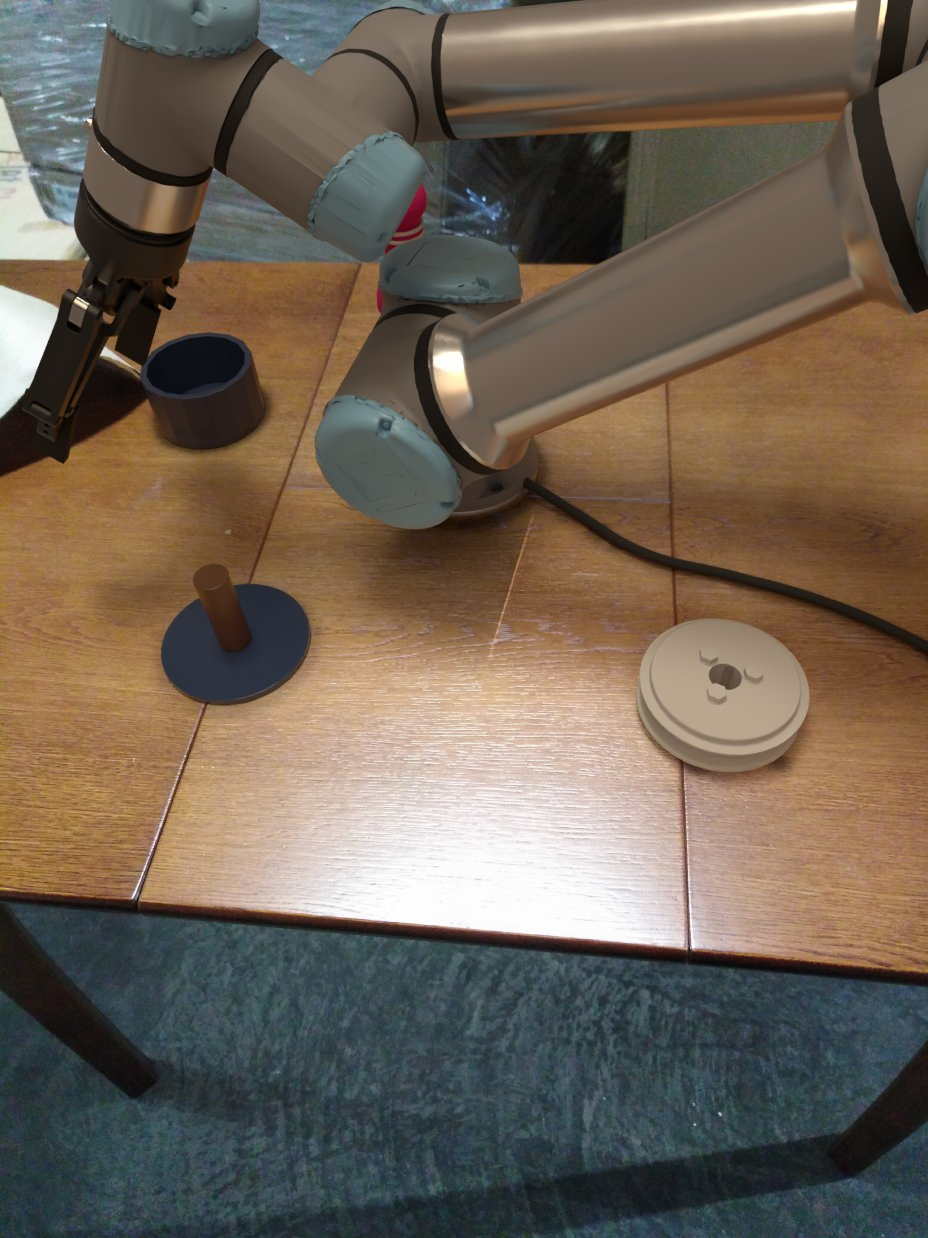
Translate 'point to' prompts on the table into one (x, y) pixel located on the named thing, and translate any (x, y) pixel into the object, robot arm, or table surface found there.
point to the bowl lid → (234, 640)
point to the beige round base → (721, 695)
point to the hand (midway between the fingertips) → (92, 401)
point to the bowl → (203, 390)
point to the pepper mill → (408, 228)
